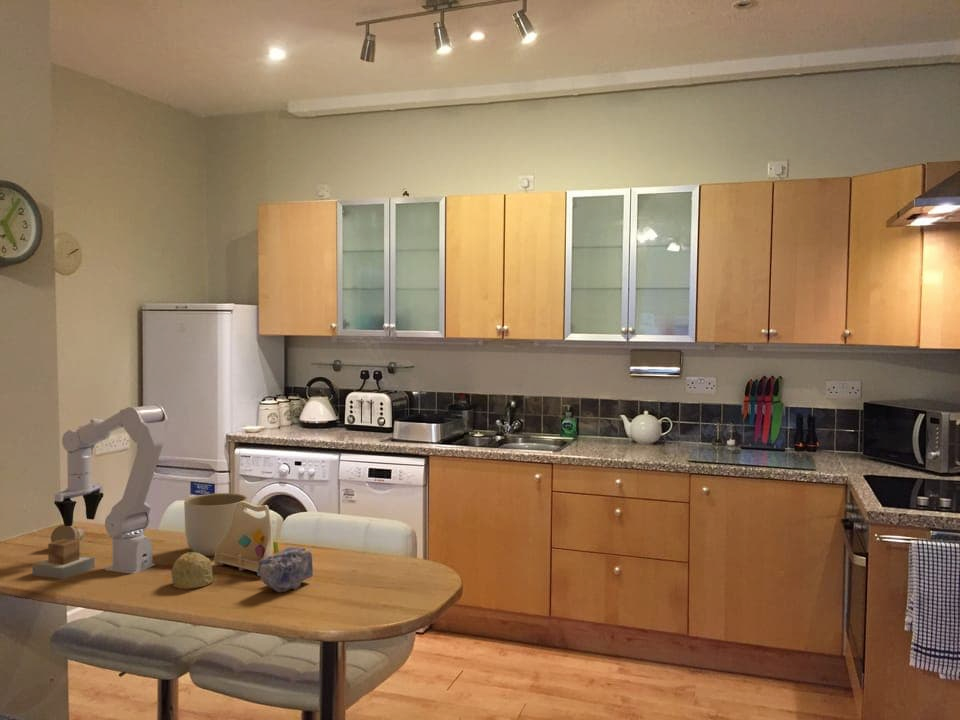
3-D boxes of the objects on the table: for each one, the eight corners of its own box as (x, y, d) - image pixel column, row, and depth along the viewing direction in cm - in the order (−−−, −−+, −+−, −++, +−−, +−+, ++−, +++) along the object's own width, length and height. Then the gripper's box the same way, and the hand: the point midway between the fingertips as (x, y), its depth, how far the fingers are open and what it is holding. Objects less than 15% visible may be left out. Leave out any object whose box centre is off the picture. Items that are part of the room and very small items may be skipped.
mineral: (284, 580, 191) (284, 541, 191) (315, 585, 187) (315, 545, 187) (246, 598, 178) (246, 556, 178) (278, 604, 174) (279, 561, 174)
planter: (209, 564, 203) (209, 508, 203) (171, 553, 213) (171, 500, 212) (259, 549, 218) (259, 497, 217) (221, 540, 227) (221, 490, 226)
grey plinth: (94, 568, 198) (94, 557, 198) (63, 580, 189) (63, 568, 189) (64, 565, 201) (64, 554, 201) (32, 576, 192) (32, 564, 192)
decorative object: (186, 592, 190) (160, 565, 187) (219, 566, 193) (195, 538, 189) (188, 607, 181) (161, 578, 178) (223, 579, 184) (197, 550, 181)
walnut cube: (79, 559, 197) (79, 540, 196) (63, 564, 192) (63, 545, 192) (64, 557, 198) (64, 538, 198) (48, 562, 193) (48, 543, 193)
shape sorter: (294, 570, 199) (294, 504, 199) (263, 581, 190) (263, 512, 190) (244, 558, 210) (244, 495, 209) (213, 567, 201) (213, 502, 200)
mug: (91, 539, 224) (90, 517, 218) (70, 564, 216) (68, 541, 210) (68, 531, 224) (66, 508, 219) (46, 555, 216) (44, 532, 210)
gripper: (88, 467, 213) (88, 515, 214) (45, 476, 199) (45, 527, 200) (108, 469, 211) (108, 517, 212) (66, 478, 197) (66, 529, 198)
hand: (79, 522), depth 206 cm, fingers open, 7 cm apart
